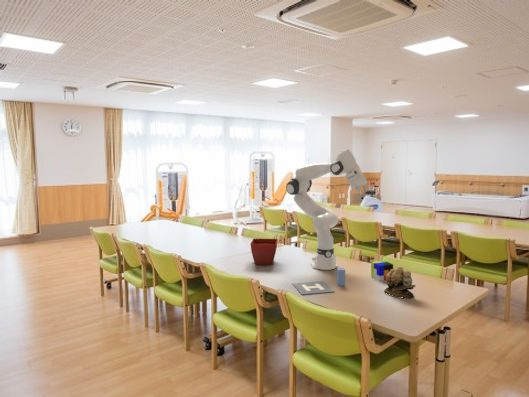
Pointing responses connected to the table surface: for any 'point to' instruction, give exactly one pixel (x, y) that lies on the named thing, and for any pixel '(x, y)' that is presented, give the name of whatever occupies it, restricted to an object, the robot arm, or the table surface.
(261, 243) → the plant pot
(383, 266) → the puzzle toy
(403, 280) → the owl figurine
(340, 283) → the blue block
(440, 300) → the table surface
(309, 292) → the letter board
